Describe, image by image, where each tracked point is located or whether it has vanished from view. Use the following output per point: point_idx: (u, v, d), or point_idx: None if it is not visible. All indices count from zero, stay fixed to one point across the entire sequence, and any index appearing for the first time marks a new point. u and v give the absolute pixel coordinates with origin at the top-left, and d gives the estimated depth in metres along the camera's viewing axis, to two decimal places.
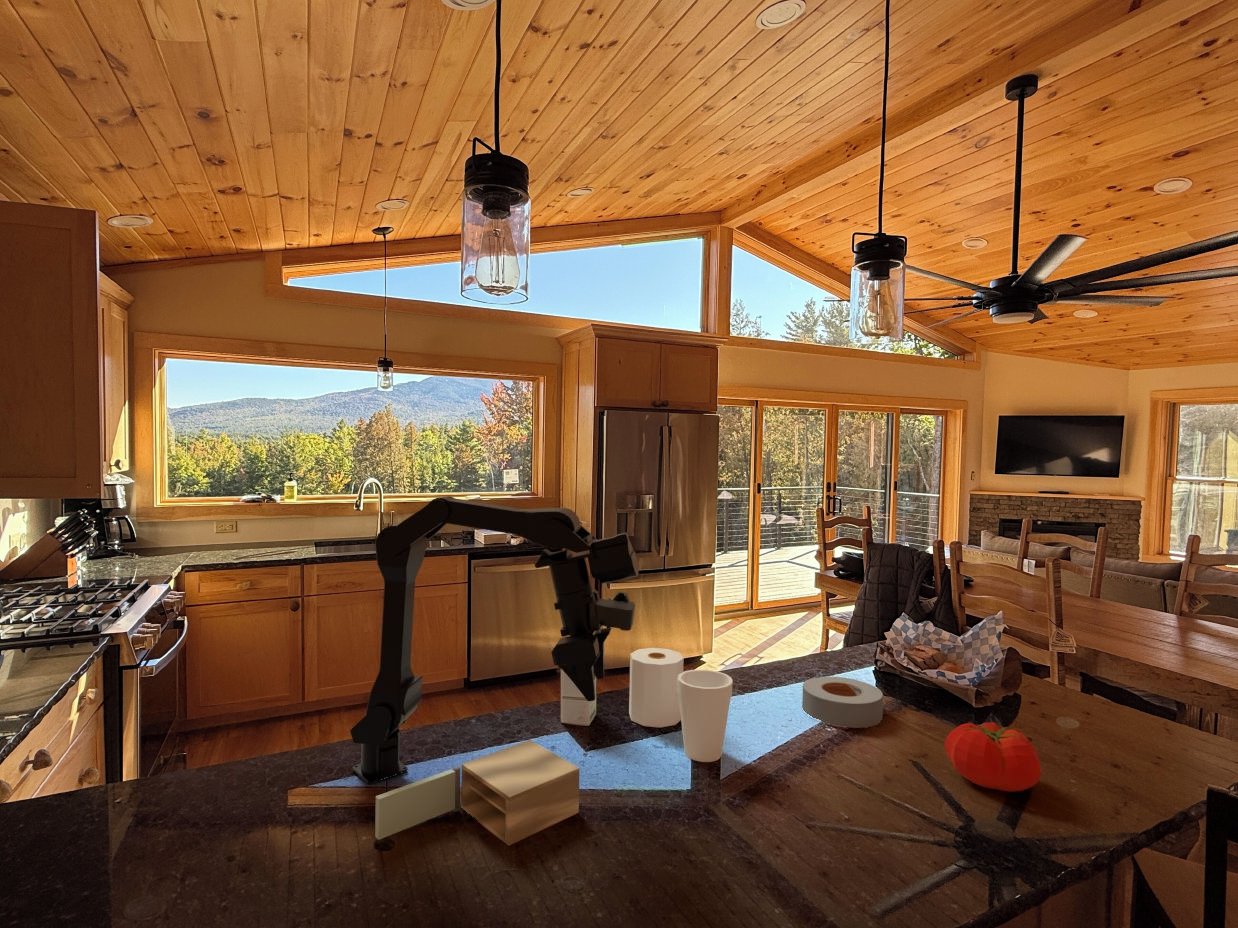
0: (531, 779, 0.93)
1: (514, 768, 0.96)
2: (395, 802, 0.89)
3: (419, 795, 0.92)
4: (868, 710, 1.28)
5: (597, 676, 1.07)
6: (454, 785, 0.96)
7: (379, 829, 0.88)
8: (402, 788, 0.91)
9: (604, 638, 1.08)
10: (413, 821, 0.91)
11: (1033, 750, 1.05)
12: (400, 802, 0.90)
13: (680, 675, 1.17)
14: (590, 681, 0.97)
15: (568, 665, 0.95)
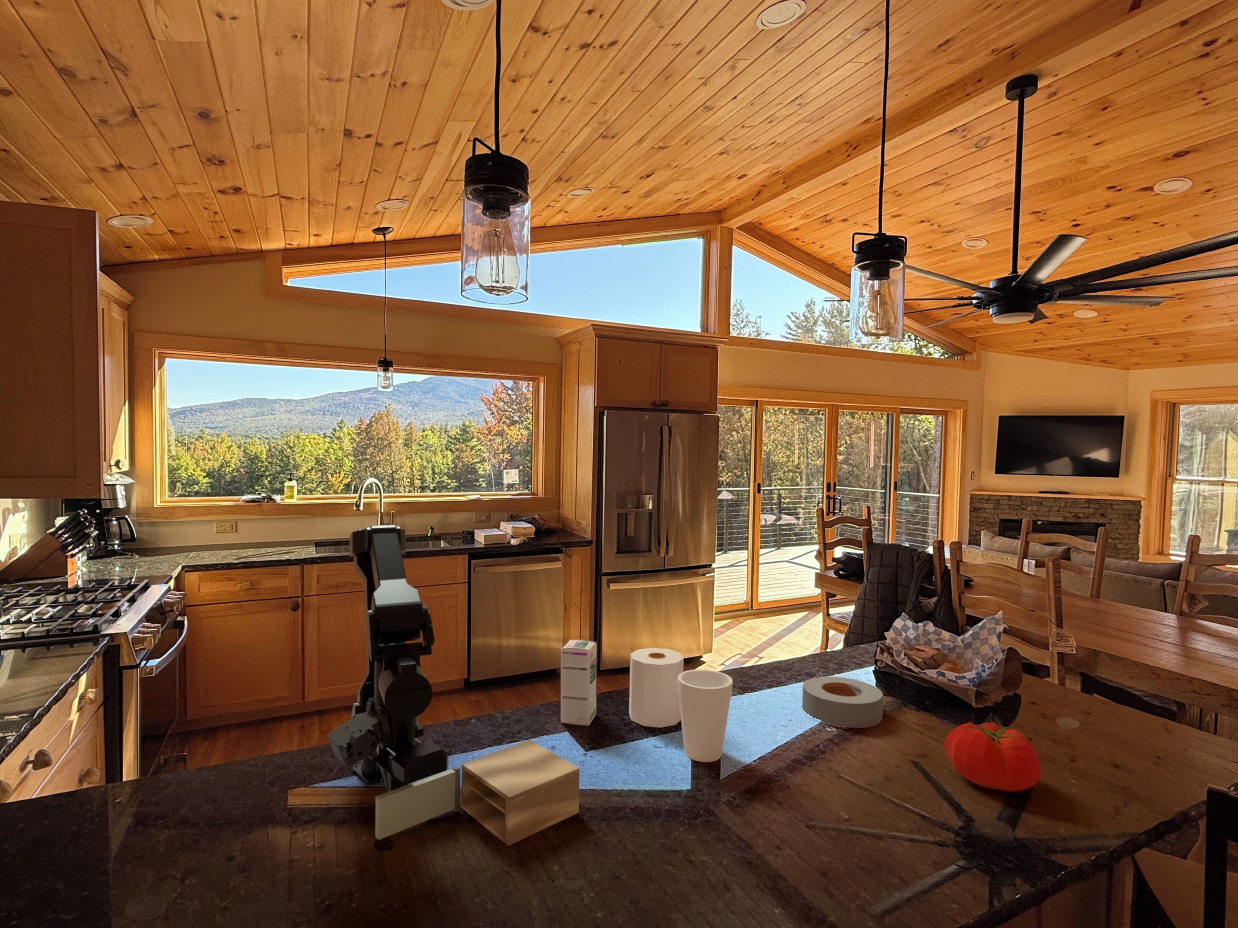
0: (531, 779, 0.93)
1: (514, 768, 0.96)
2: (395, 802, 0.89)
3: (419, 795, 0.92)
4: (868, 710, 1.28)
5: None
6: (454, 785, 0.96)
7: (379, 829, 0.88)
8: (402, 788, 0.91)
9: None
10: (413, 821, 0.91)
11: (1033, 750, 1.05)
12: (400, 802, 0.90)
13: (680, 675, 1.17)
14: None
15: None
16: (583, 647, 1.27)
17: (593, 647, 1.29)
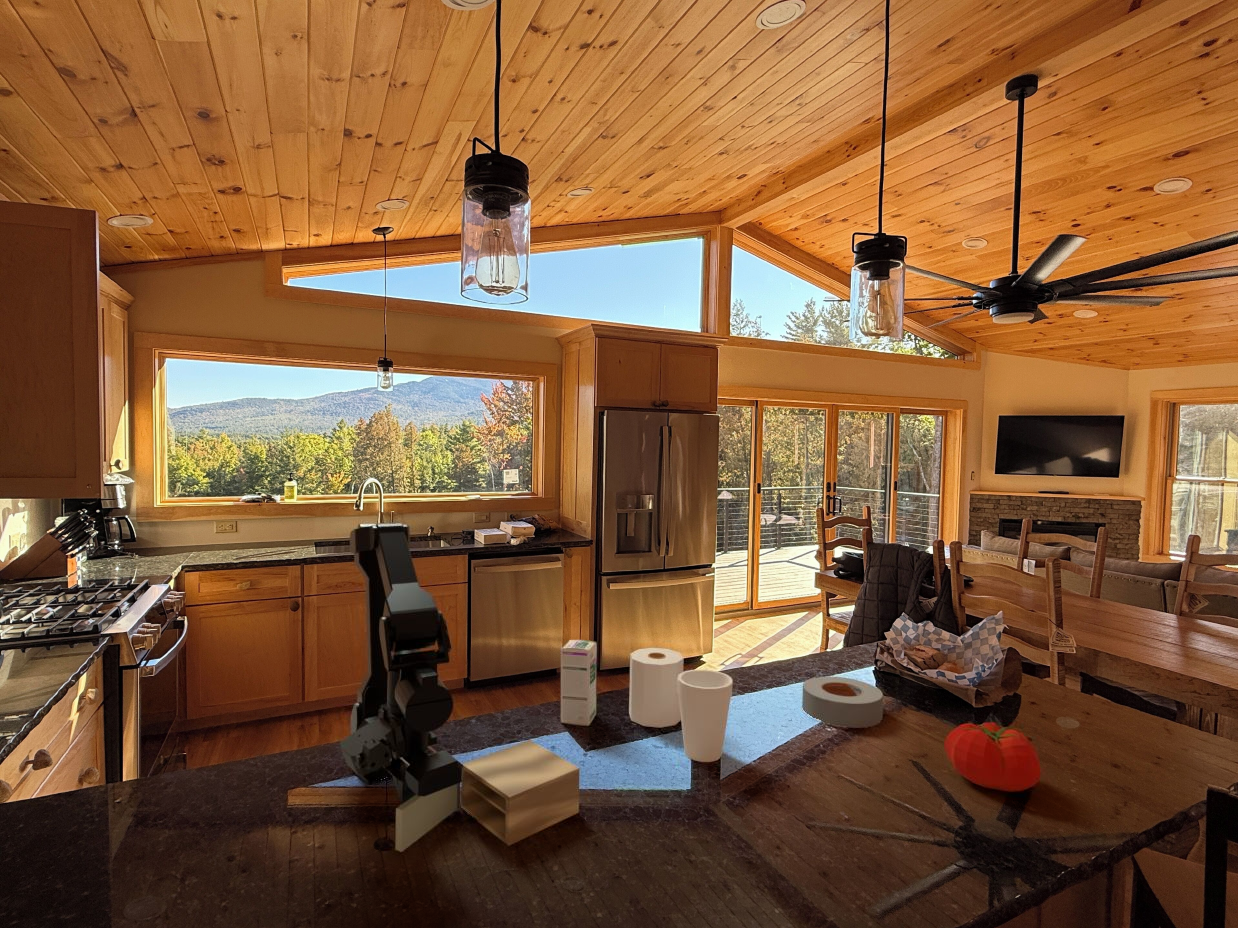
0: (531, 779, 0.93)
1: (514, 768, 0.96)
2: (414, 811, 0.88)
3: (431, 800, 0.91)
4: (868, 710, 1.28)
5: None
6: (456, 785, 0.96)
7: (402, 841, 0.86)
8: None
9: None
10: (427, 827, 0.90)
11: (1033, 750, 1.05)
12: (417, 810, 0.88)
13: (680, 675, 1.17)
14: None
15: None
16: (583, 647, 1.27)
17: (593, 647, 1.29)
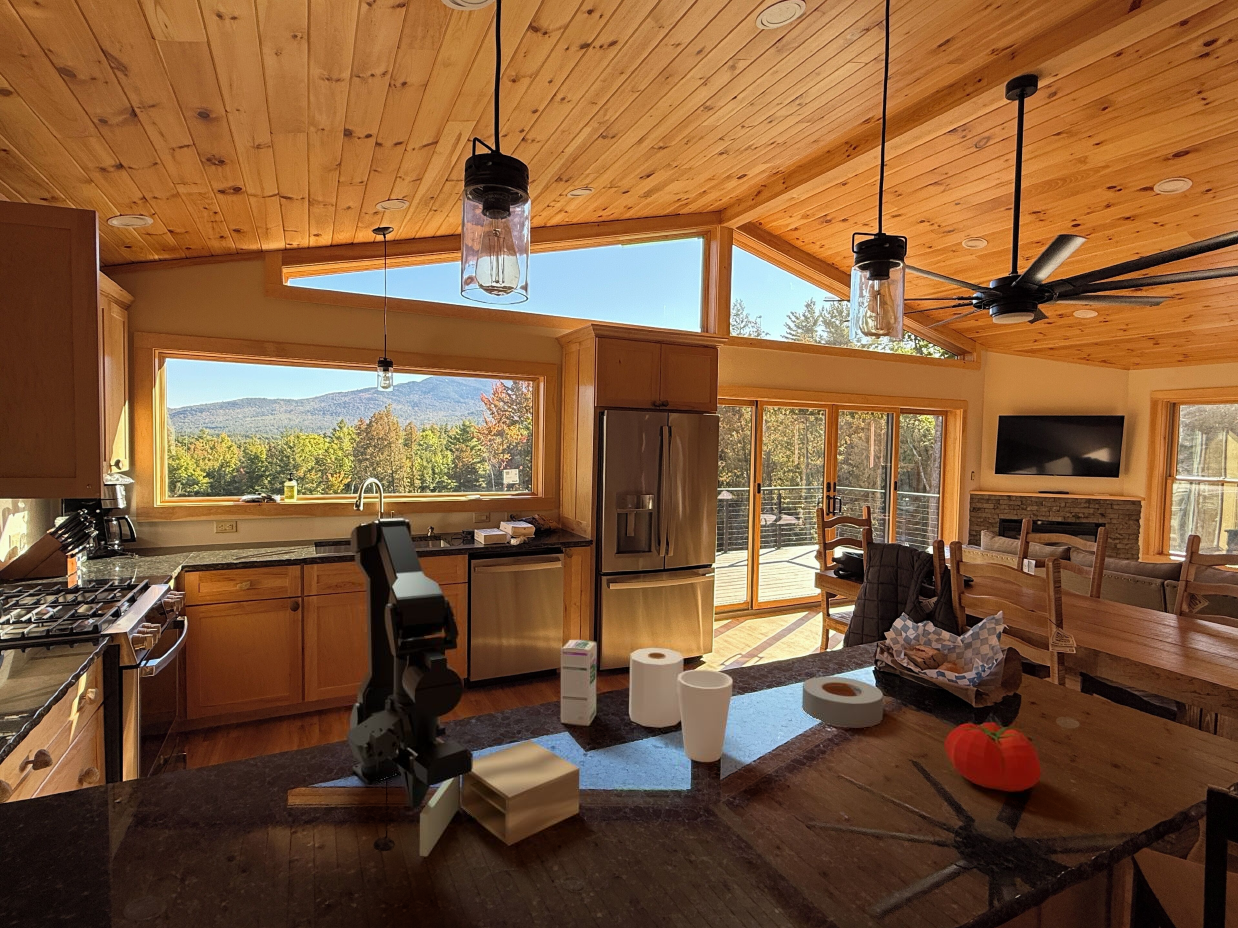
0: (531, 779, 0.93)
1: (514, 768, 0.96)
2: (434, 814, 0.87)
3: (444, 802, 0.90)
4: (868, 710, 1.28)
5: None
6: (458, 785, 0.96)
7: (427, 845, 0.85)
8: (434, 798, 0.88)
9: None
10: (441, 829, 0.90)
11: (1033, 750, 1.05)
12: (436, 813, 0.88)
13: (680, 675, 1.17)
14: None
15: None
16: (583, 647, 1.27)
17: (593, 647, 1.29)
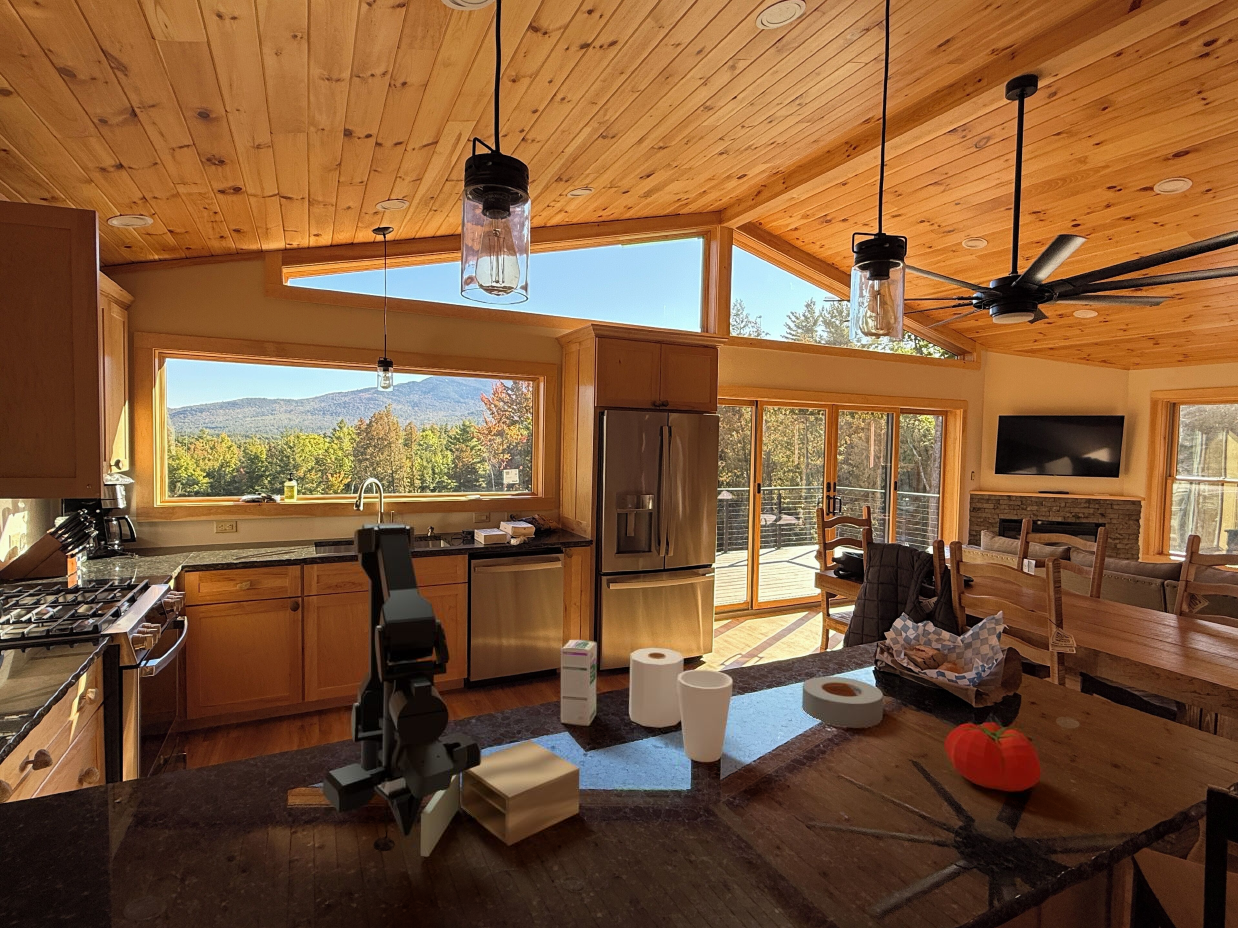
0: (531, 779, 0.93)
1: (514, 768, 0.96)
2: (435, 814, 0.87)
3: (445, 802, 0.90)
4: (868, 710, 1.28)
5: None
6: (458, 785, 0.96)
7: (428, 845, 0.85)
8: (435, 798, 0.88)
9: None
10: (442, 829, 0.90)
11: (1033, 750, 1.05)
12: (437, 813, 0.88)
13: (680, 675, 1.17)
14: (399, 816, 0.84)
15: (374, 787, 0.84)
16: (583, 647, 1.27)
17: (593, 647, 1.29)
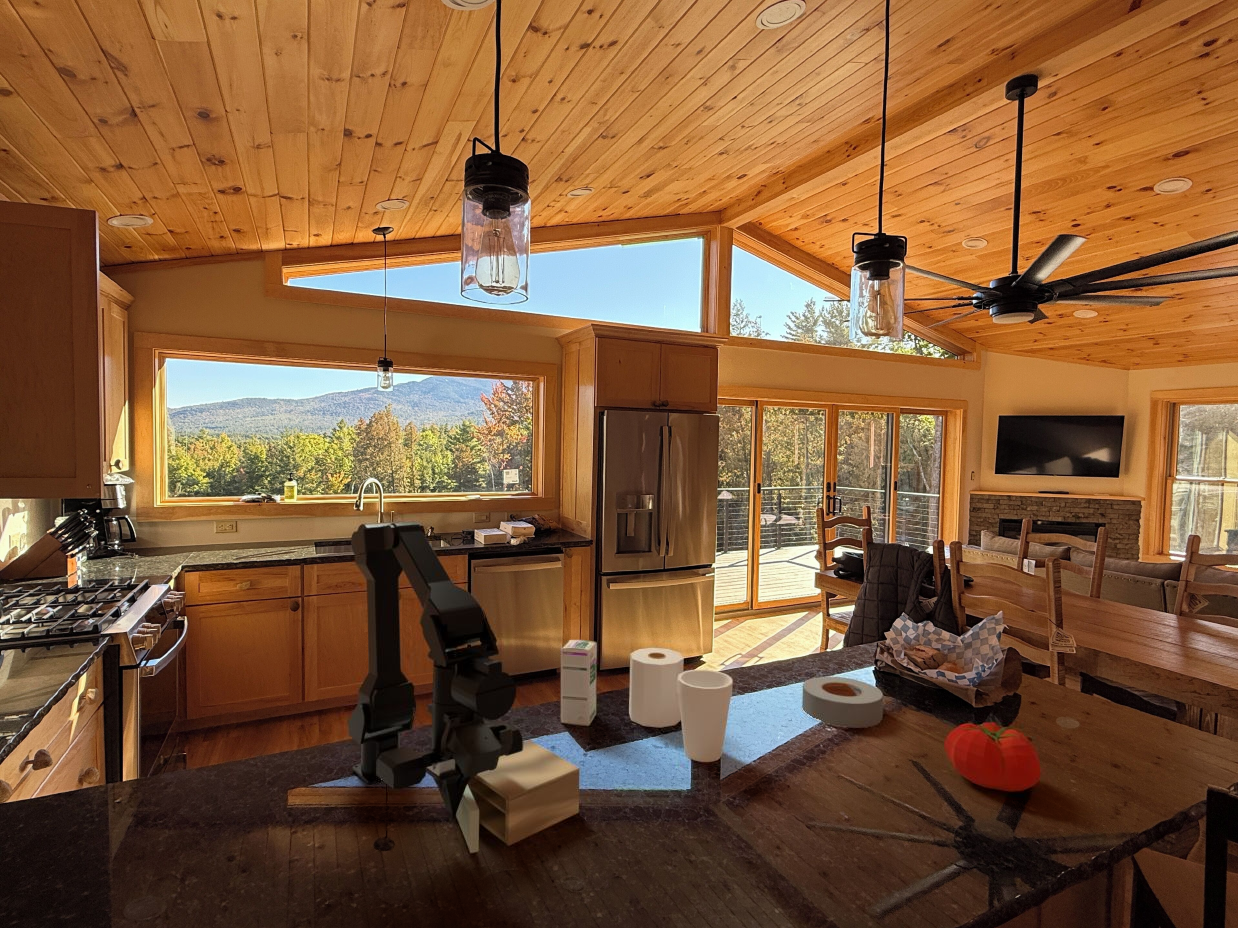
0: (531, 779, 0.93)
1: (514, 768, 0.96)
2: None
3: None
4: (868, 710, 1.28)
5: (448, 813, 0.89)
6: None
7: (478, 840, 0.86)
8: (468, 796, 0.89)
9: (462, 775, 0.87)
10: None
11: (1033, 750, 1.05)
12: None
13: (680, 675, 1.17)
14: (448, 797, 0.87)
15: None
16: (583, 647, 1.27)
17: (593, 647, 1.29)
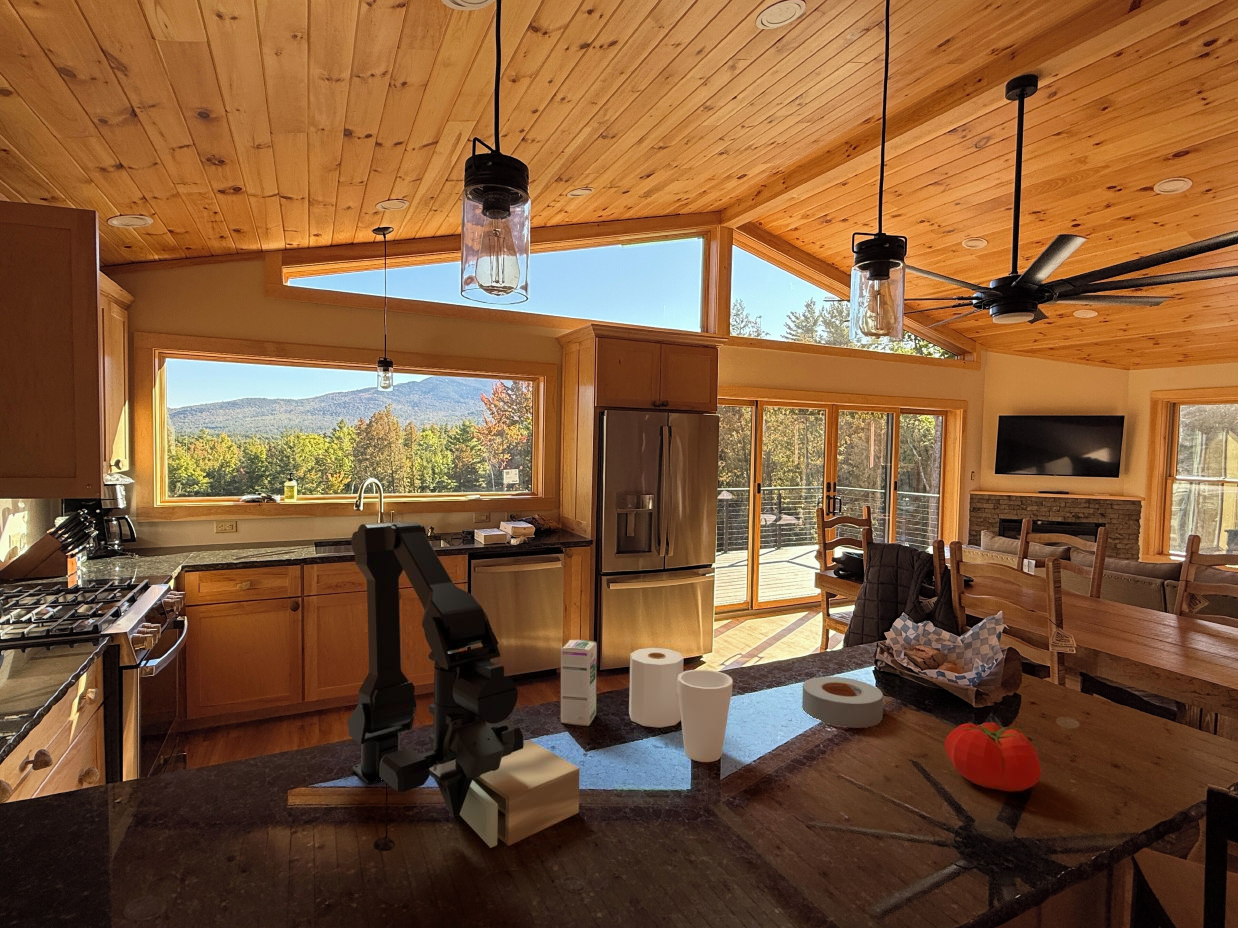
0: (531, 779, 0.93)
1: (514, 768, 0.96)
2: None
3: None
4: (868, 710, 1.28)
5: None
6: None
7: None
8: (481, 793, 0.90)
9: None
10: None
11: (1033, 750, 1.05)
12: None
13: (680, 675, 1.17)
14: (449, 797, 0.88)
15: None
16: (583, 647, 1.27)
17: (593, 647, 1.29)
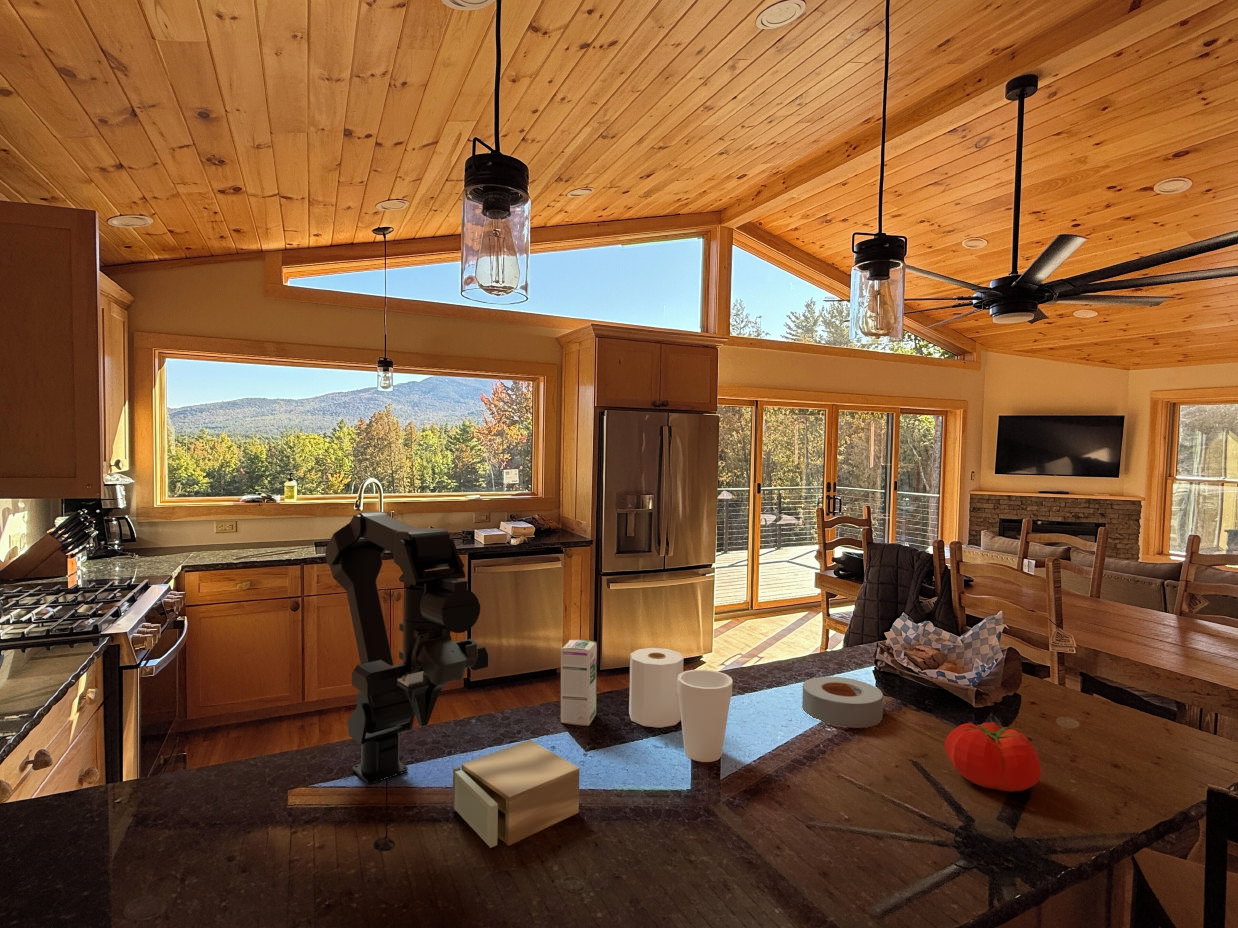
0: (531, 779, 0.93)
1: (514, 768, 0.96)
2: None
3: None
4: (868, 710, 1.28)
5: None
6: None
7: (497, 834, 0.88)
8: (481, 793, 0.90)
9: (434, 685, 0.96)
10: None
11: (1033, 750, 1.05)
12: None
13: (680, 675, 1.17)
14: (417, 707, 0.95)
15: None
16: (583, 647, 1.27)
17: (593, 647, 1.29)
